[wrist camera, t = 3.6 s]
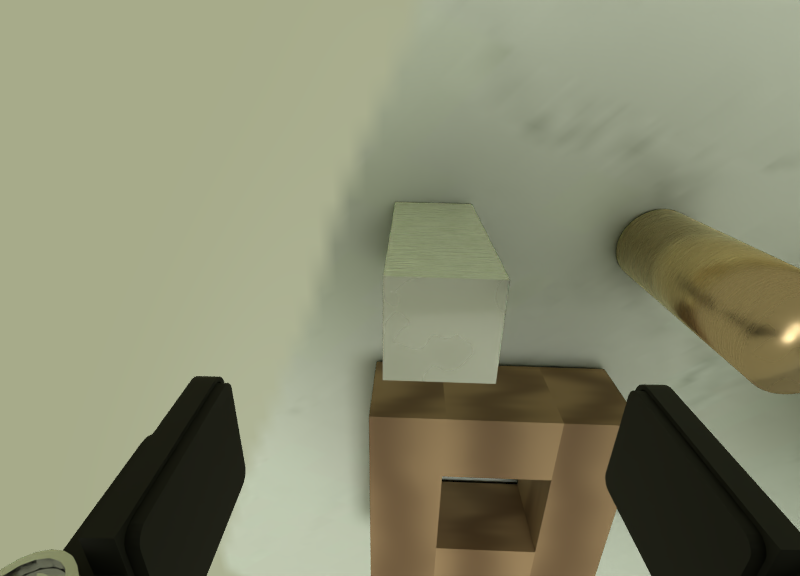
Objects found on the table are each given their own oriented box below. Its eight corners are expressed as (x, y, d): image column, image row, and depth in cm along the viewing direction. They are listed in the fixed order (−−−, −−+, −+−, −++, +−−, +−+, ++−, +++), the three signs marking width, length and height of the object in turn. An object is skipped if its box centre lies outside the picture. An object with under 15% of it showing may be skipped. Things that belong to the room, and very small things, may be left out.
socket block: (604, 369, 27) (643, 426, 22) (564, 525, 33) (588, 595, 28) (376, 361, 27) (368, 416, 23) (377, 517, 33) (371, 586, 28)
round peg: (703, 210, 23) (898, 291, 14) (681, 280, 24) (841, 395, 15) (626, 208, 23) (767, 288, 14) (609, 278, 24) (725, 392, 15)
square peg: (471, 203, 23) (509, 280, 14) (465, 274, 25) (495, 383, 15) (395, 201, 23) (383, 276, 14) (394, 272, 25) (382, 380, 16)
